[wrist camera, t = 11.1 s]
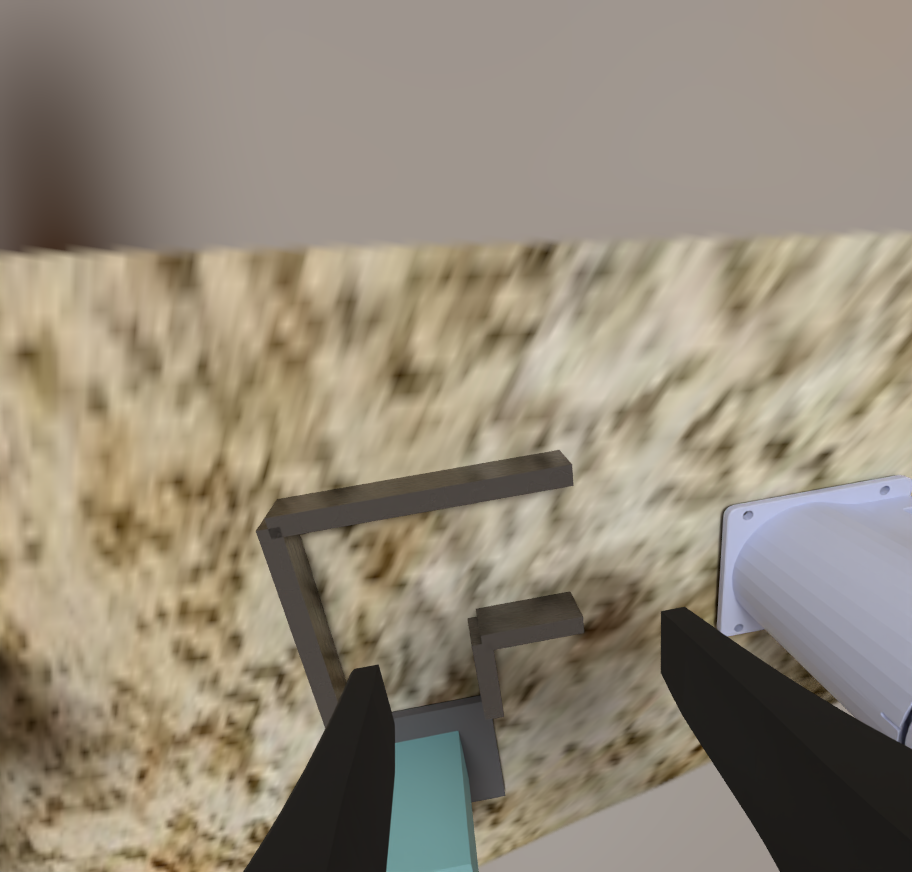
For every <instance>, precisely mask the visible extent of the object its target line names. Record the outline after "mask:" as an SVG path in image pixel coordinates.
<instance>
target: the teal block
mask: <svg viewBox="0 0 912 872" xmlns="http://www.w3.org/2000/svg"><path fill="white" fill-rule="evenodd" d="M386 872H479V871H478V862H477V852H476V843H475V833H474V824H473V814H472V805H471V795H470V786H469V777H468V773H467V768H466V763H465V759H464V754H463V749H462V745H461V740H460V736H459V731H454V732H449V733H444V734H439V735H434V736H429V737H423V738H418V739H413V740H408V741H403V742H398V743H395V780H394V792H393V803H392V814H391V825H390V836H389V847H388V858H387V869H386Z"/></svg>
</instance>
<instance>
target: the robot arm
mask: <svg viewBox="0 0 912 872" xmlns="http://www.w3.org/2000/svg"><path fill="white" fill-rule="evenodd" d="M911 491H912V479H911V478H909V477H906V476H903V475H896V476H890V477H885V478H879V479H873V480H868V481H862V482H857V483H851V484H846V485H840V486H835V487H829V488H824V489H818V490H813V491H807V492H802V493H796V494H791V495H785V496H780V497H774V498H769V499H763V500H758V501H752V502H747V503H741V504H736V505H732V506H730V507H728V508H727V509H726V510H725V512H724V516H723V533H722V549H721V566H720V582H719V598H718V615H717V629H718V630H717V629H716V628H714V627H713V626H711V625H710V624H709V623H707V622H706V621H704V620H703V619H701V618H700V617H699V616H697V615H696V614H694V613H693V612H691V611H690V610H688V609H687V608H686V607H682V608H676V609H671V610H666V611H661V674H662V676H663V678H664V680H665V682H666V684H667V686H668V688H669V690H670V692H671V694H672V696H673V698H674V700H675V702H676V704H677V706H678V708H679V710H680V712H681V713H682V715H683V717H684V719H685V720H686V722H687V723H688V725H689V727H690V728H691V730H692V731H693V733H694V734H695V736H696V737H697V739H698V741H699V742H700V744H701V745H702V747H703V748H704V750H705V751H706V753H707V755H708V756H709V758H710V759H711V761H712V762H713V764H714V765H715V767H716V768H717V770H718V771H719V773H720V774H721V776H722V778H723V779H724V781H725V782H726V784H727V785H728V787H729V788H730V790H731V791H732V793H733V795H734V796H735V798H736V799H737V801H738V802H739V804H740V805H741V807H742V808H743V810H744V811H745V813H746V815H747V816H748V818H749V819H750V820H751V822H752V824H753V826H754V827H755V829H756V831H757V832H758V834H759V836H760V837H761V839H762V840H763V842H764V844H765V845H766V847H767V849H768V851H769V853H770V854H771V856H772V858H773V860H774V862H775V863H776V865H777V867H778V869H779V871H780V872H912V496H911ZM746 511H747V513H746V514H745V515H743V514H744V513H745V512H746ZM764 629H765V630H766V631H767V632H768V633H769V634H770V635H771V636H772V637H773V638H774V639H775V640H776V641H777V642H778V643H779V644H780V645H782V646H783V647H784V648H785V649H786V650H787V651H788V652H789V653H790V654H791V655H792V656H793V657H794V658H795V659H796V660H797V661H798V662H799V663H800V664H801V665H802V666H803V667H804V668H805V669H806V670H807V671H808V672H809V673H810V674H811V675H812V676H813V677H814V678H815V679H816V680H817V681H818V682H819V683H820V684H821V685H822V686H823V687H824V688H825V689H826V690H827V691H828V692H829V693H831V694H832V695H833V696H834V697H835V698H836V699H837V700H838V701H839V702H840V703H841V704H842V705H843V706H844V707H845V708H846V709H847V710H848V711H849V712H850V713H851V714H852V715H853V716H854V717H855V718H854V717H852V716H851V715H849V714H847V713H845V712H843V711H842V710H840V709H838V708H837V707H835V706H833V705H832V704H830V703H828V702H827V701H825V700H823V699H822V698H820V697H819V696H817V695H815V694H814V693H812V692H810V691H809V690H807V689H805V688H804V687H802V686H801V685H799V684H797V683H796V682H794V681H793V680H791V679H790V678H788V677H786V676H785V675H783V674H782V673H780V672H779V671H777V670H776V669H774V668H773V667H771V666H770V665H768V664H767V663H765V662H764V661H762V660H761V659H759V658H758V657H756V656H755V655H753V654H752V653H750V652H749V651H747V650H746V649H744V648H743V647H741V646H740V645H739V644H737V643H736V642H734V641H733V640H731V639H730V638H728V637H727V636H732V635H738V634H743V633H748V632H753V631H759V630H764ZM394 780H395V722H394V719H393V715H392V712H391V708H390V704H389V701H388V697H387V694H386V690H385V686H384V683H383V679H382V675H381V672H380V668H379V665H373V666H368V667H363V668H357V669H354V670H353V671H352V672H351V674H350V676H349V679H348V681H347V683H346V686H345V688H344V690H343V692H342V695H341V697H340V699H339V701H338V703H337V706H336V708H335V710H334V712H333V714H332V716H331V718H330V720H329V723H328V725H327V727H326V729H325V731H324V733H323V735H322V737H321V739H320V741H319V743H318V744H317V746H316V748H315V750H314V752H313V754H312V756H311V758H310V760H309V762H308V764H307V766H306V768H305V770H304V771H303V773H302V775H301V777H300V779H299V780H298V782H297V784H296V786H295V787H294V789H293V791H292V793H291V795H290V796H289V798H288V800H287V802H286V803H285V805H284V807H283V809H282V811H281V812H280V814H279V816H278V817H277V819H276V821H275V822H274V824H273V826H272V827H271V829H270V831H269V832H268V834H267V835H266V837H265V839H264V840H263V842H262V843H261V845H260V846H259V848H258V850H257V851H256V853H255V854H254V856H253V857H252V859H251V861H250V862H249V864H248V865H247V867H246V868H245V870H244V871H243V872H386V869H387V858H388V847H389V836H390V825H391V814H392V803H393V792H394Z"/></svg>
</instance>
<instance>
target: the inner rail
mask: <svg viewBox="0 0 912 872" xmlns="http://www.w3.org/2000/svg"><path fill="white" fill-rule="evenodd" d="M476 613H477V617H472V618H468V624H469V631H470V637H471V644H472V650H473V655H474V661H475V666H476V672H477V677H478V683H479V688H480V694H481V700H482V705H483V711H484V716H485V720H489V719H494V718H499V717H504V713H503V706H502V700H501V694H500V687H499V681H498V675H497V669H496V662H495V656H494V650H496V649H501V648H507V647H512V646H517V645H523V644H528V643H533V642H538V641H544V640H549V639H554V638H559V637H565V636H570V635H575V634H581V633H584V624H583V616H582V614H581V612H580V610H579V608H578V606H577V604H576V602H575V600H574V598H573V596H572V594H571V592H564V593H559V594H554V595H548V596H543V597H537V598H532V599H527V600H521V601H516V602H511V603H505V604H500V605H494V606H489V607H484V608H478V609H476Z"/></svg>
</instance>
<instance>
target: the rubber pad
mask: <svg viewBox="0 0 912 872" xmlns="http://www.w3.org/2000/svg"><path fill="white" fill-rule="evenodd" d="M392 715H393V719H394V722H395V743H398V742H403V741H408V740H413V739H418V738H423V737H429V736H434V735H439V734H444V733H449V732H454V731H459V736H460V740H461V745H462V749H463V754H464V759H465V763H466V768H467V773H468V777H469V786H470V795H471V802H476V801H481V800H486V799H491V798H496V797H501V796H505V790H504V784H503V778H502V772H501V766H500V761H499V755H498V749H497V743H496V737H495V732H494V726H493V720H492V719H489V720H485V716H484V711H483V705H482V700H481V695H480V696H475V697H469V698H464V699H459V700H454V701H448V702H443V703H438V704H433V705H428V706H422V707H417V708H412V709H407V710H402V711H396V712H392Z"/></svg>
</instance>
